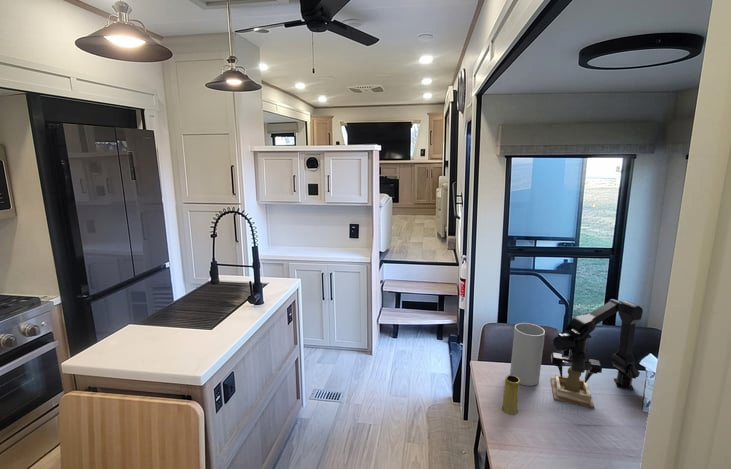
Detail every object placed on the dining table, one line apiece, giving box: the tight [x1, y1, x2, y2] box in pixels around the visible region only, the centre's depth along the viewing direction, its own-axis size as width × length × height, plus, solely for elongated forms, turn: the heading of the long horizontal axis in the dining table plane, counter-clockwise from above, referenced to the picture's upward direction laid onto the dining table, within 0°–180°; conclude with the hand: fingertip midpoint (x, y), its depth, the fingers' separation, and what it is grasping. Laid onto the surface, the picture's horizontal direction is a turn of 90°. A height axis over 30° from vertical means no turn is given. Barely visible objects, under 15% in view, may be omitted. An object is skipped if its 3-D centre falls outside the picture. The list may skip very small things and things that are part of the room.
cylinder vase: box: [509, 322, 546, 387], centre depth 172 cm, size 12×12×25 cm
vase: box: [501, 374, 520, 416], centre depth 152 cm, size 6×6×14 cm
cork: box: [564, 366, 582, 393], centre depth 163 cm, size 6×6×11 cm
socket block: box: [550, 373, 595, 410], centre depth 164 cm, size 16×15×4 cm
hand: (573, 379), depth 163 cm, fingers open, 9 cm apart
